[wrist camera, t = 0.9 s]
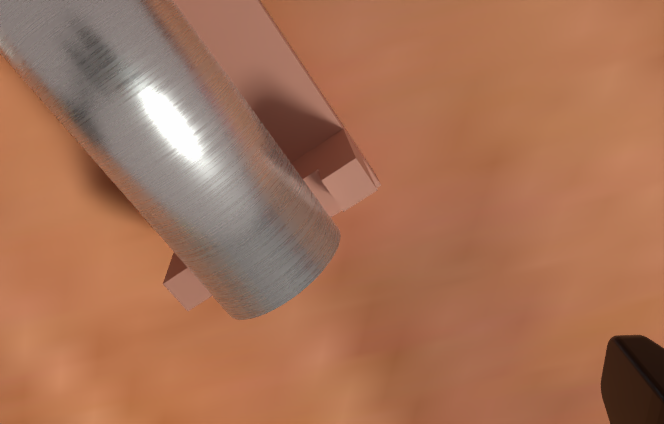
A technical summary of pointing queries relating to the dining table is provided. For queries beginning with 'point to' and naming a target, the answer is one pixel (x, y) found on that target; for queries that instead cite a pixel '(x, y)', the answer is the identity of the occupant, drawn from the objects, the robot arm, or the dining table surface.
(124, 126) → the pin
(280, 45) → the hitch bracket
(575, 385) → the dining table surface
